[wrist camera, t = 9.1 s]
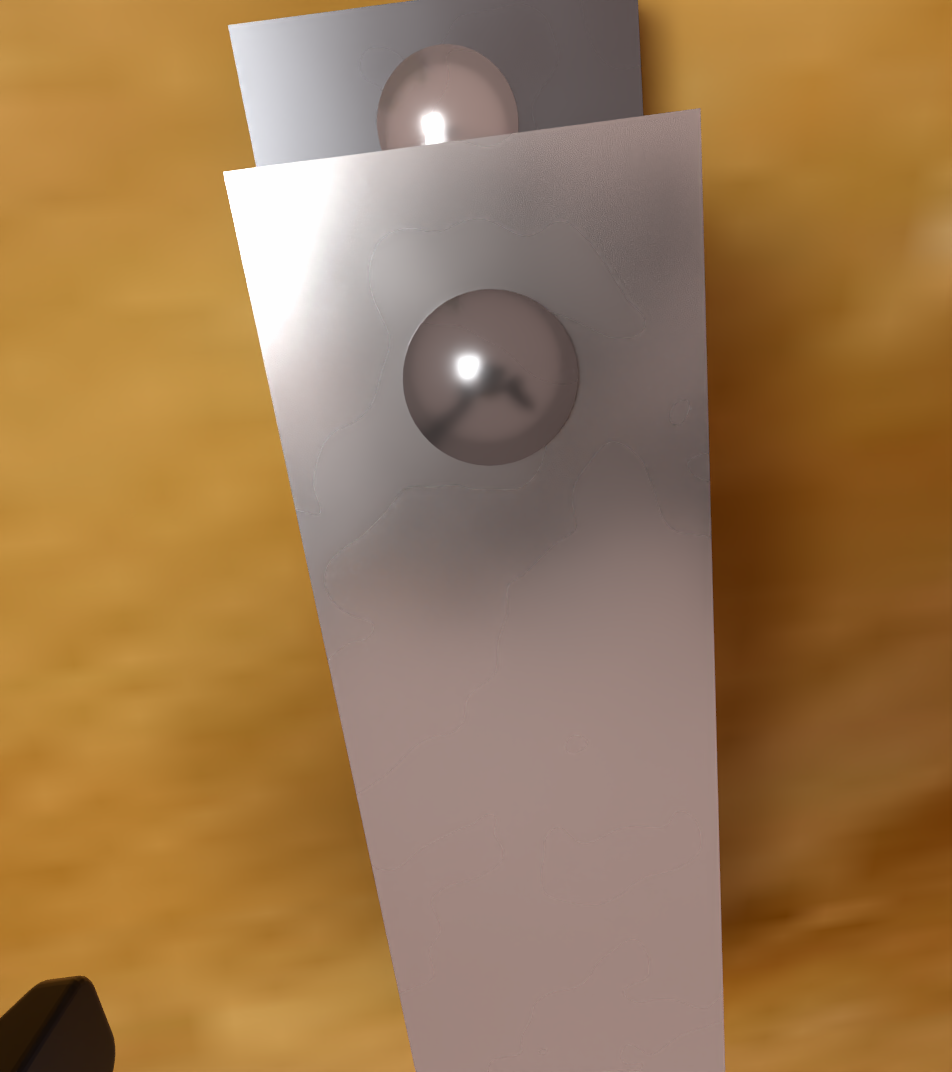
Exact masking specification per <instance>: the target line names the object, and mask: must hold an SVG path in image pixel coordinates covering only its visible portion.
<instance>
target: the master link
mask: <svg viewBox="0 0 952 1072" xmlns="http://www.w3.org/2000/svg"><path fill="white" fill-rule="evenodd" d="M223 173H224V178H225V182H226V187H227V192H228V196H229V201H230V206H231V210H232V215H233V220H234V224H235V229H236V234H237V238H238V243H239V248H240V252H241V257H242V262H243V266H244V271H245V276H246V280H247V285H248V290H249V294H250V299H251V304H252V308H253V313H254V318H255V322H256V327H257V332H258V336H259V341H260V346H261V350H262V355H263V360H264V364H265V369H266V374H267V379H268V383H269V388H270V393H271V397H272V402H273V407H274V411H275V416H276V421H277V425H278V430H279V435H280V439H281V444H282V449H283V453H284V458H285V463H286V467H287V472H288V477H289V481H290V486H291V491H292V495H293V500H294V505H295V509H296V514H297V519H298V523H299V528H300V533H301V537H302V542H303V547H304V551H305V556H306V561H307V565H308V570H309V575H310V580H311V584H312V589H313V594H314V598H315V603H316V608H317V612H318V617H319V622H320V626H321V631H322V636H323V640H324V645H325V650H326V654H327V659H328V664H329V668H330V673H331V678H332V682H333V687H334V692H335V696H336V701H337V706H338V710H339V715H340V720H341V724H342V729H343V734H344V738H345V743H346V748H347V752H348V757H349V762H350V766H351V771H352V776H353V780H354V785H355V790H356V795H357V799H358V804H359V809H360V813H361V818H362V823H363V827H364V832H365V837H366V841H367V846H368V851H369V855H370V860H371V865H372V869H373V874H374V879H375V883H376V888H377V893H378V897H379V902H380V907H381V911H382V916H383V921H384V925H385V930H386V935H387V939H388V944H389V949H390V953H391V958H392V963H393V967H394V972H395V977H396V981H397V986H398V991H399V996H400V1000H401V1005H402V1010H403V1014H404V1019H405V1024H406V1028H407V1033H408V1038H409V1042H410V1047H411V1052H412V1056H413V1061H414V1066H415V1070H416V1072H725V1048H724V1009H723V970H722V931H721V892H720V853H719V814H718V775H717V736H716V697H715V659H714V620H713V581H712V542H711V503H710V464H709V425H708V386H707V347H706V308H705V269H704V230H703V191H702V152H701V113H700V108H699V109H691V110H684V111H676V112H669V113H661V114H654V115H646V116H639V117H631V118H624V119H616V120H609V121H601V122H594V123H586V124H579V125H571V126H564V127H556V128H549V129H542V130H534V131H527V132H519V133H512V134H504V135H497V136H489V137H482V138H474V139H467V140H459V141H452V142H444V143H437V144H429V145H422V146H414V147H407V148H399V149H392V150H384V151H377V152H369V153H362V154H354V155H347V156H339V157H332V158H324V159H317V160H309V161H302V162H294V163H287V164H279V165H272V166H264V167H257V168H249V169H242V170H234V171H227V172H223Z"/></svg>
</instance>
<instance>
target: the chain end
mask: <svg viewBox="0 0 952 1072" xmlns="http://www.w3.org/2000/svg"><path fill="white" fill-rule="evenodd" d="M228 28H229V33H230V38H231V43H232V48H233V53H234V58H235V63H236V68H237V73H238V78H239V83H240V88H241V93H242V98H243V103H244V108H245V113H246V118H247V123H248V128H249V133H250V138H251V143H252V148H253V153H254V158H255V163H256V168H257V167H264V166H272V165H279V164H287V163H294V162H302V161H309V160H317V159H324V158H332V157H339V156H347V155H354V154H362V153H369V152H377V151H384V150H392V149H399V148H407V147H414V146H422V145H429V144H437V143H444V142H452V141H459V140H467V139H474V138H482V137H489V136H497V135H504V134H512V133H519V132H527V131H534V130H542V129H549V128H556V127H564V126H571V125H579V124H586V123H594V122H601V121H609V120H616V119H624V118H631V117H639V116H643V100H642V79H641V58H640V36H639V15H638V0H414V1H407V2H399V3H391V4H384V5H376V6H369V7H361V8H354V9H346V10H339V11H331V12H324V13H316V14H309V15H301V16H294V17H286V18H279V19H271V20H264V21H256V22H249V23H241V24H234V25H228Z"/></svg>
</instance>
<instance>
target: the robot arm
mask: <svg viewBox="0 0 952 1072" xmlns="http://www.w3.org/2000/svg"><path fill="white" fill-rule="evenodd" d="M114 1063H115V1042H114V1037H113V1034H112V1031H111V1029H110V1026H109V1023H108V1021H107V1018H106V1016H105V1013H104V1011H103V1008H102V1005H101V1003H100V1000H99V998H98V995H97V993H96V990H95V987H94V985H93V984H92V982H91V981H90V980H89V979H88V978H87V977H85V976H73V977H66V978H58V979H51V980H46V981H43V982H40V983H39V984H37V985H36V986H34V987H33V988H32V989H31V990H29V991H28V992H27V993H26V994H25V995H24V996H23V997H22V998H21V999H20V1000H19V1001H18V1002H17V1003H16V1004H15V1005H14V1006H12V1007H11V1008H10V1009H9V1010H8V1011H7V1012H6V1013H5V1014H4V1015H3V1016H2V1017H1V1018H0V1072H113V1069H114Z"/></svg>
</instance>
